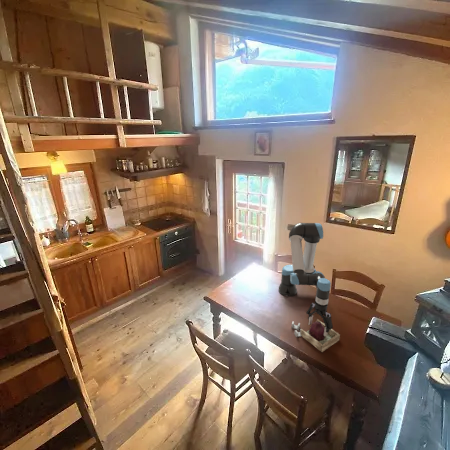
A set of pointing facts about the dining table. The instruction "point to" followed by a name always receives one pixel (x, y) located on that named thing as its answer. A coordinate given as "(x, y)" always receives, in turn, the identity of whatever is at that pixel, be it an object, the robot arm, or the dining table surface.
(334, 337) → the tray
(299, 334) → the clip
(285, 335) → the dining table surface
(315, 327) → the vegetable
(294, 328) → the clip
